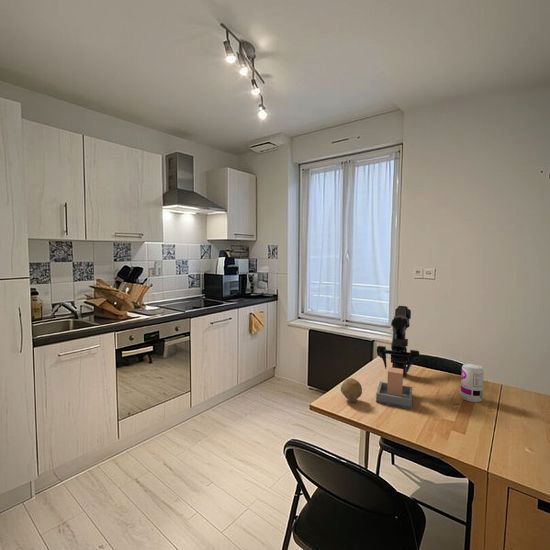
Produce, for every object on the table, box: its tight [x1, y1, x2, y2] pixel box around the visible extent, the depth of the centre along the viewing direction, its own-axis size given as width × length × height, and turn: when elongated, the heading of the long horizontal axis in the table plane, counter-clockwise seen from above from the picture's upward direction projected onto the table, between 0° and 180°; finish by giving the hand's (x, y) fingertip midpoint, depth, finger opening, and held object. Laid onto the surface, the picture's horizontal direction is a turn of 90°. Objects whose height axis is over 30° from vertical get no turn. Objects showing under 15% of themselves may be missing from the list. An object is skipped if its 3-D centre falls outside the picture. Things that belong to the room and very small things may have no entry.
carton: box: [386, 366, 404, 397], centre depth 141 cm, size 6×6×12 cm
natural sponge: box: [340, 377, 363, 403], centre depth 138 cm, size 9×9×10 cm
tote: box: [375, 381, 413, 410], centre depth 141 cm, size 14×14×4 cm
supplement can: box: [459, 362, 485, 403], centre depth 142 cm, size 8×8×15 cm
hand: (396, 370), depth 146 cm, fingers open, 9 cm apart
